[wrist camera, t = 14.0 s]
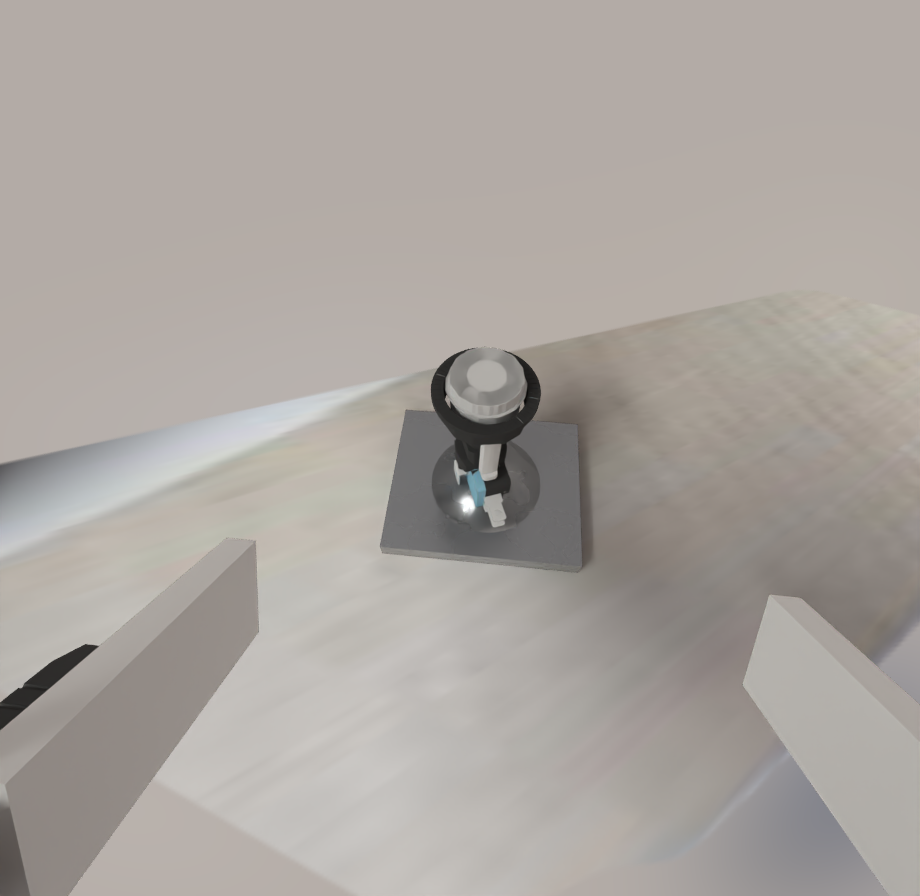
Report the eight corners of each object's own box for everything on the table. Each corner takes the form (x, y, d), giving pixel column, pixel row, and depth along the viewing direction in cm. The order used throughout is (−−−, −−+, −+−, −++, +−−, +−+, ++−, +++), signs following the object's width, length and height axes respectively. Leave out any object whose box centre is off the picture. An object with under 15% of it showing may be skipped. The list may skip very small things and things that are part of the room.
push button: (538, 519, 29) (572, 432, 21) (455, 541, 28) (454, 460, 20) (504, 431, 32) (521, 324, 24) (428, 449, 32) (418, 345, 23)
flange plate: (382, 553, 29) (379, 546, 28) (407, 419, 34) (405, 409, 33) (577, 572, 29) (582, 566, 28) (573, 433, 34) (577, 424, 33)
